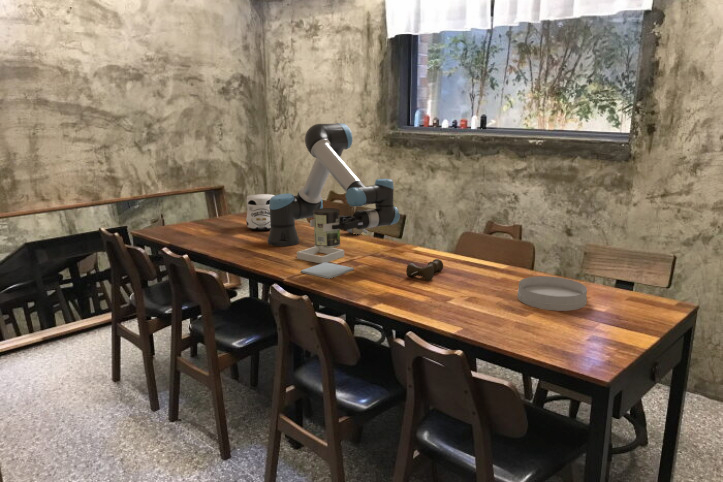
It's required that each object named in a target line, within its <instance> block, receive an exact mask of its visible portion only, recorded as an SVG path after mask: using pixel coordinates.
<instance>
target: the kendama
mask: <svg viewBox="0 0 723 482" xmlns="http://www.w3.org/2000/svg"><path fill="white" fill-rule="evenodd" d="M443 269H444V262H443V261H442V260H441V259H439V258H435V259H433V260H432V261H429V262H428V263H427V265H426V266H425V267H421V266H417V265H416V264H414V263H413V262H410V263H408V264H407V266H406V269H405V270H406V276H407V277H409V278H413V277H416V276H417V277H422V278H423V279H424V280H425V281H427V282H429V281H431V280H432V279H433V278H434V275H435V273H436V272H441V271H443Z"/></svg>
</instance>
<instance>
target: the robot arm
mask: <svg viewBox="0 0 723 482" xmlns="http://www.w3.org/2000/svg"><path fill="white" fill-rule="evenodd" d="M304 143H305V147H306V149H307V151H308V153H309V154H310V155H311V156H312V157H313V158H314V159H315V160H314V162H313V165H312V167H311V170H309V171H310V172H309V174H308V177H307V179H306V181H305V183H304V186H303V187H300V188H299V190H298V193H297V195H294V194H293V193H280V194H276V195H275V196H273V197H272V198H271V199H270V205H269V208H270V223H271V229H269V235H268V237H267V244H268V245H269V246H272V247H290V246H294V245H297V244H299V243H300V237H299V236H298V232H297V229H296V224H295V223H296V222H295V221H296V220H303V219H310V218H314V213H313V210H315V209H321V208H323V207H324V205H323V202H324V201H323V198H322V191H323V189H324V187H325V184H326V183H327V180H328V177H329V176H330V175H331V176H332V177H333V178H334V180H335V181H336V182H337V183H338V184H339V186H340V187H341V188H342V189H343V190H344V192H345V200H346V203H347V204H348V205H349V206H350V207H363V206H367V205H374V206H375V208H369V209H364V210H357V211H355V212H354V213H353V214H352V215H345V214H344V215H339V220H340V224H339V223H338V222H337V223H330V224H323V231H324V232H325V231H332V230H339V229H340V230H341V231H347V230H348V229H353V228H357V229H370V230H371V229H373V228H377V227H385V226H387V227H388V226H392V225H395V224H397V223H398V222H399V220H400V216H401V215H400V212H399V209H398V208H397V206H395V205H394V191H395V189H394V181H393V179H391V178H377V179H375V181H374V184H371V185H365V184H364V183H363V182H362V180H360V178H359V177H358V176H357V175H356V174H355V173H354V171H352V169H351V168H350V167H349V166H348V164H347V163H346V162H345V161H344V160H343V159H342V158H341V156H342V153H343V152H344V150H348V149H350V148H351V147H352V145H353V132H352V130H351V129H350V127H349V125H347V123H341V122H340V123H339V122H335V123H316V124H313V125H312V126H310V127H309V128H308V130H307V131H306V133H305V137H304ZM309 222H310V224H309V225H310V227H311V228H314V219H310V220H309Z"/></svg>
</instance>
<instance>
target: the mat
mask: <svg viewBox="0 0 723 482" xmlns="http://www.w3.org/2000/svg"><path fill="white" fill-rule="evenodd" d="M354 270H355V268H354V267H350V266H347V265H341V264H338V263H337V264H336V263H332V262H325V263H322V264H320V263H318V264H316V265H313V266H310V267H307V268H304V269H300V273H302V274H307V275H311V276H315V277H318V278H319V277H320V278H325V279H329V280H331V279H333V277H334V278H336V277H338V276H342V275H344V274H346V273H349V272H351V271H354ZM330 278H331V279H330Z"/></svg>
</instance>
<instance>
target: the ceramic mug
mask: <svg viewBox="0 0 723 482" xmlns="http://www.w3.org/2000/svg"><path fill="white" fill-rule="evenodd" d="M346 232H348V233H350V234H352V233H355V234H356V235H355V236H358V235H357V234H359V235H360V234H362V233H365V234H367V233H368V229H367V228H365V229H357V228H353V229H348V230H346Z"/></svg>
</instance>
